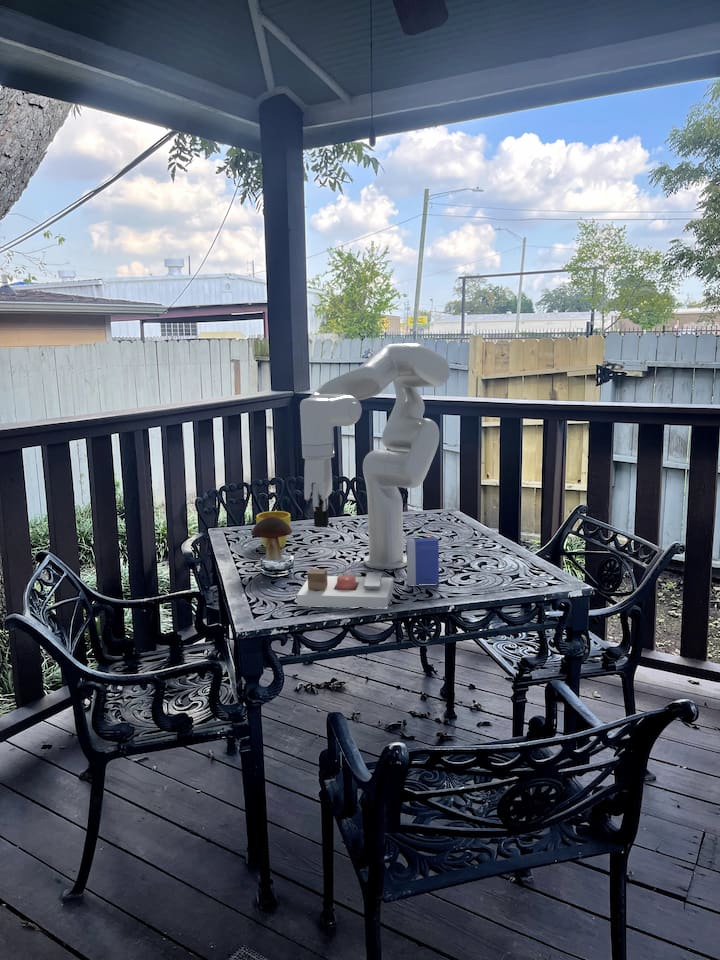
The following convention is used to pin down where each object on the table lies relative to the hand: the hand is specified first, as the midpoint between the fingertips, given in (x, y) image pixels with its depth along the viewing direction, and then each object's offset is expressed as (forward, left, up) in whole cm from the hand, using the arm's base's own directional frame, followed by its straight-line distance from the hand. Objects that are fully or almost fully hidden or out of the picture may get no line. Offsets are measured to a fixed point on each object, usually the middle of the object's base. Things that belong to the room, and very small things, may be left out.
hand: (321, 526), depth 157 cm
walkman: (-8, +24, -17) cm, 30 cm away
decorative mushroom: (-16, -17, -17) cm, 29 cm away
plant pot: (-38, -23, -17) cm, 48 cm away
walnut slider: (+5, 0, -14) cm, 15 cm away
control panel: (+3, +6, -17) cm, 18 cm away
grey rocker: (+3, +13, -13) cm, 18 cm away
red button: (+3, +6, -14) cm, 16 cm away
